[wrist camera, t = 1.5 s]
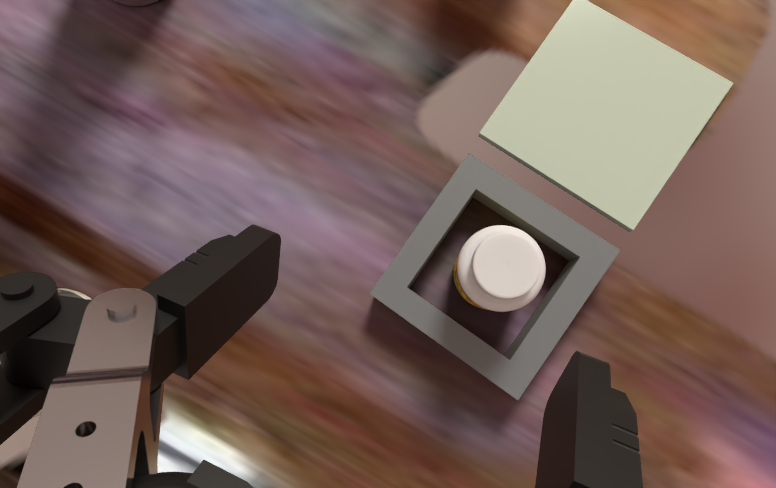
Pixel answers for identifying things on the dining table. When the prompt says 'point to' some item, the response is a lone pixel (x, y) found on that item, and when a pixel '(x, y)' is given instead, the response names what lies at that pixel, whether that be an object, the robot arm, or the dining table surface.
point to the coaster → (605, 112)
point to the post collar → (535, 219)
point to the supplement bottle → (499, 269)
